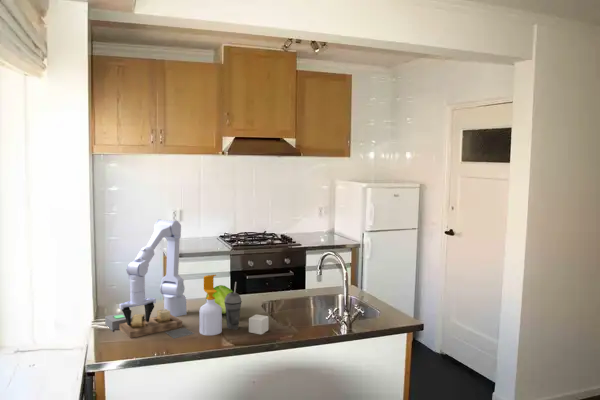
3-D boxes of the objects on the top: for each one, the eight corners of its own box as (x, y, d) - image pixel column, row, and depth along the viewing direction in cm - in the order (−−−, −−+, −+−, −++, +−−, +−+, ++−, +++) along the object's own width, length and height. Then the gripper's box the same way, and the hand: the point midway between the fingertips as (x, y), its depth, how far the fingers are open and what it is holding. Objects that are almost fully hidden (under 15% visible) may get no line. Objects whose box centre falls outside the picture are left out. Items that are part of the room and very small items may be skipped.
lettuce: (211, 322, 223) (211, 296, 222) (203, 309, 242) (203, 284, 241) (242, 319, 227) (242, 293, 226) (232, 306, 246) (232, 282, 245)
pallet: (170, 320, 225) (169, 313, 225) (182, 328, 216) (182, 321, 215) (119, 331, 211) (119, 324, 211) (130, 339, 202) (130, 332, 202)
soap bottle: (203, 338, 204) (203, 277, 202) (196, 330, 213) (196, 272, 210) (224, 334, 209) (224, 275, 206) (217, 327, 217) (217, 270, 214)
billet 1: (144, 330, 212) (144, 314, 211) (142, 334, 208) (141, 317, 207) (135, 330, 212) (134, 314, 211) (132, 334, 208) (131, 317, 207)
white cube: (255, 328, 217) (256, 314, 217) (268, 330, 215) (268, 316, 214) (248, 332, 212) (248, 318, 211) (261, 334, 209) (261, 320, 209)
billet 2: (166, 324, 220) (165, 308, 219) (170, 327, 216) (169, 311, 216) (157, 326, 217) (157, 310, 216) (161, 329, 214) (160, 313, 213)
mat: (184, 328, 215) (184, 327, 215) (194, 335, 208) (194, 333, 208) (164, 333, 209) (164, 332, 209) (173, 339, 202) (173, 338, 202)
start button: (122, 321, 219) (122, 314, 219) (125, 323, 217) (125, 316, 216) (113, 323, 217) (113, 316, 217) (116, 325, 214) (116, 318, 214)
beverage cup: (224, 325, 219) (224, 279, 217) (241, 325, 220) (242, 279, 218) (223, 331, 212) (223, 284, 210) (241, 331, 213) (241, 284, 211)
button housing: (126, 321, 223) (126, 312, 223) (133, 326, 216) (133, 317, 216) (105, 325, 218) (105, 316, 217) (112, 331, 211) (112, 321, 210)
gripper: (150, 285, 216) (151, 317, 217) (116, 291, 207) (117, 324, 208) (157, 289, 211) (158, 321, 212) (122, 295, 201) (123, 328, 203)
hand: (138, 323), depth 210 cm, fingers open, 7 cm apart
